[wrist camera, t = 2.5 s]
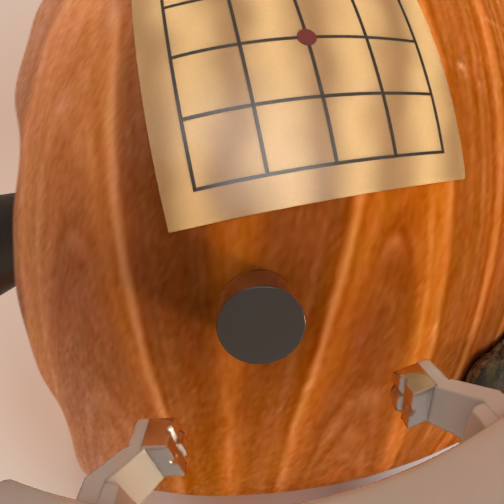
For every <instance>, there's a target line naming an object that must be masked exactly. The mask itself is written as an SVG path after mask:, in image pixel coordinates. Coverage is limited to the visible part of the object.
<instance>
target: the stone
mask: <svg viewBox="0 0 504 504" xmlns="http://www.w3.org/2000/svg"><path fill="white" fill-rule="evenodd" d="M465 382H467V383H471V384H475V385H479V386H483V387H487V388H491V389H496V390H500V391H501V392H502V393H504V339H503V340H502V341H500V342H499V343H497V344H496V345H495V347H494V348H493V349H492V350H491V351H490V352H489V353H486V354H483V355H482V356H481V357H480V358H479V359H478V360H477V361H476V362H475V363H474V365H473V366H472V367H471V369H470V370H469V372H468V374H467V377H466V379H465Z"/></svg>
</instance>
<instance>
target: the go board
mask: <svg viewBox="0 0 504 504" xmlns="http://www.w3.org/2000/svg"><path fill="white" fill-rule="evenodd" d="M131 9H132V21H133V32H134V42H135V51H136V60H137V68H138V76H139V83H140V90H141V97H142V103H143V110H144V116H145V122H146V128H147V133H148V139H149V144H150V150H151V155H152V160H153V165H154V170H155V175H156V180H157V185H158V189H159V194H160V198H161V203H162V207H163V212H164V216H165V220H166V224H167V228H168V232H169V233H171V232H176V231H180V230H185V229H189V228H194V227H198V226H203V225H207V224H212V223H216V222H221V221H226V220H230V219H235V218H240V217H245V216H250V215H255V214H259V213H264V212H269V211H274V210H280V209H285V208H290V207H295V206H300V205H306V204H311V203H316V202H322V201H327V200H333V199H338V198H344V197H350V196H356V195H362V194H367V193H373V192H380V191H386V190H392V189H398V188H405V187H411V186H418V185H424V184H431V183H438V182H445V181H453V180H460V179H465V169H464V162H463V154H462V148H461V142H460V136H459V130H458V125H457V120H456V116H455V111H454V107H453V102H452V98H451V94H450V90H449V87H448V83H447V79H446V76H445V73H444V69H443V66H442V63H441V60H440V57H439V54H438V51H437V48H436V45H435V42H434V40H433V37H432V34H431V32H430V29H429V26H428V24H427V22H426V19H425V17H424V14H423V12H422V10H421V8H420V5H419V3H418V1H417V0H131Z"/></svg>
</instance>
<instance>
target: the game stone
mask: <svg viewBox="0 0 504 504" xmlns="http://www.w3.org/2000/svg"><path fill="white" fill-rule="evenodd" d="M305 326H306V319H305V313H304V311H303V308H302V306H301V304H300V302H299V300H298V299H297V297H296V295H295V293H294V291H293V289H292V287H291V286H290V285H289V283H288V282H287V281H286V280H285V279H284V278H282V277H281V276H279V275H278V274H276V273H273V272H270V271H266V270H252V271H247V272H244V273H242V274H239V275H238V276H236V277H234V278H233V279H232V280H231V281H230V282H229V283H228V284H227V285H226V286H225V288H224V289H223V291H222V293H221V296H220V299H219V306H218V316H217V334H218V337H219V340H220V342H221V344H222V346H223V347H224V348H225V350H226V351H227V352H228V353H229V354H231V355H232V356H233V357H235V358H237V359H239V360H241V361H243V362H247V363H252V364H267V363H272V362H275V361H278V360H280V359H282V358H284V357H286V356H287V355H289V354H290V353H291V352H292V351H293V350H294V349H295V348H296V347H297V346H298V344H299V343H300V341H301V339H302V337H303V335H304V332H305Z"/></svg>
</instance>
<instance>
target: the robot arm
mask: <svg viewBox="0 0 504 504" xmlns="http://www.w3.org/2000/svg"><path fill="white" fill-rule="evenodd" d="M392 381H393V383H394V385H393V387H392V388H391V400H392V403H393V406H394V407H395V409H396V410H397V411H400V412H402V413H401V419H402V420H403V422H404V423H405V425H406V426H407V428H410V427H413V426H415V425H418V424H420V423H423V422H425V421H427V422H429V423H431V424H433V425H435V426H437V427H439V428H441V429H443V430H445V431H448V432H450V433H452V434H454V435H456V436H458V437H460V438H461V441H460V443H459V444H458V445H456V446H455V447H452V448H451V449H449V450H447V451H445V452H443V453H441V454H439V455H437V456H435V457H433V458H431V459H429V460H427V461H425V462H423V463H421V464H418V465H416V466H414V467H411V468H409V469H407V470H405V471H402V472H400V473H397V474H395V475H392V476H390V477H387V478H384V479H382V480H379V481H377V482H373V483H371V484H368V485H364V486H361V487H358V488H355V489H352V490H348V491H345V492H342V493H338V494H334V495H331V496H327V497H323V498H319V499H314V500H310V501H305V502H300V503H295V504H504V394H503V393H502V392H501V391H500V390H496V389H491V388H487V387H483V386H479V385H475V384H471V383H467V382H463V381H459V380H455V379H450V380H448V379H447V377H446V376H445V375H444V374H443V373H442V372H441V371H440V370H439V369H438V368H437V367H436V366H435V365H434V364H433V363H432V362H431V361H430V360H429V359H425V360H422V361H420V362H418V363H416V364H413V365H410V366H408V367H405V368H403V369H400V370H397V371H395V372H393V374H392ZM188 449H189V448H188V440H187V437H186V435H185V433H184V432H183V431H181V430H180V423H179V421H178V420H177V419H176V418H158V419H139V420H138V421H137V423H136V425H135V428H134V431H133V434H132V437H131V439H130V442H129V445H128V448H123V449H122V450H121V451H120V452H118V453H117V454H116V455H114V456H113V457H112V458H111V459H109V460H108V461H107V462H105V463H104V464H103V465H101V466H100V467H99V468H97V469H96V470H95V471H93V472H92V473H91V474H89V475H88V476H87V477H86V478H85V479H84V482H83V484H82V486H81V489H80V491H79V494H78V496H77V499H76V500H75V499H71V498H66V497H63V496H59V495H56V494H52V493H48V492H45V491H42V490H39V489H36V488H32V487H30V486H27V485H24V484H22V483H19V482H16V481H13V480H4V481H1V482H0V504H142V502H143V501H144V500H145V499H146V498H147V496H148V495H149V494H150V493H151V492H152V491H153V490H154V489H155V487H156V486H157V485H158V484H159V483H160V482H161V480H162V479H163V478H164V476H185V471H186V464H187V462H186V461H185V459H184V457H185V456H186V455H187V454H188Z"/></svg>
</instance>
